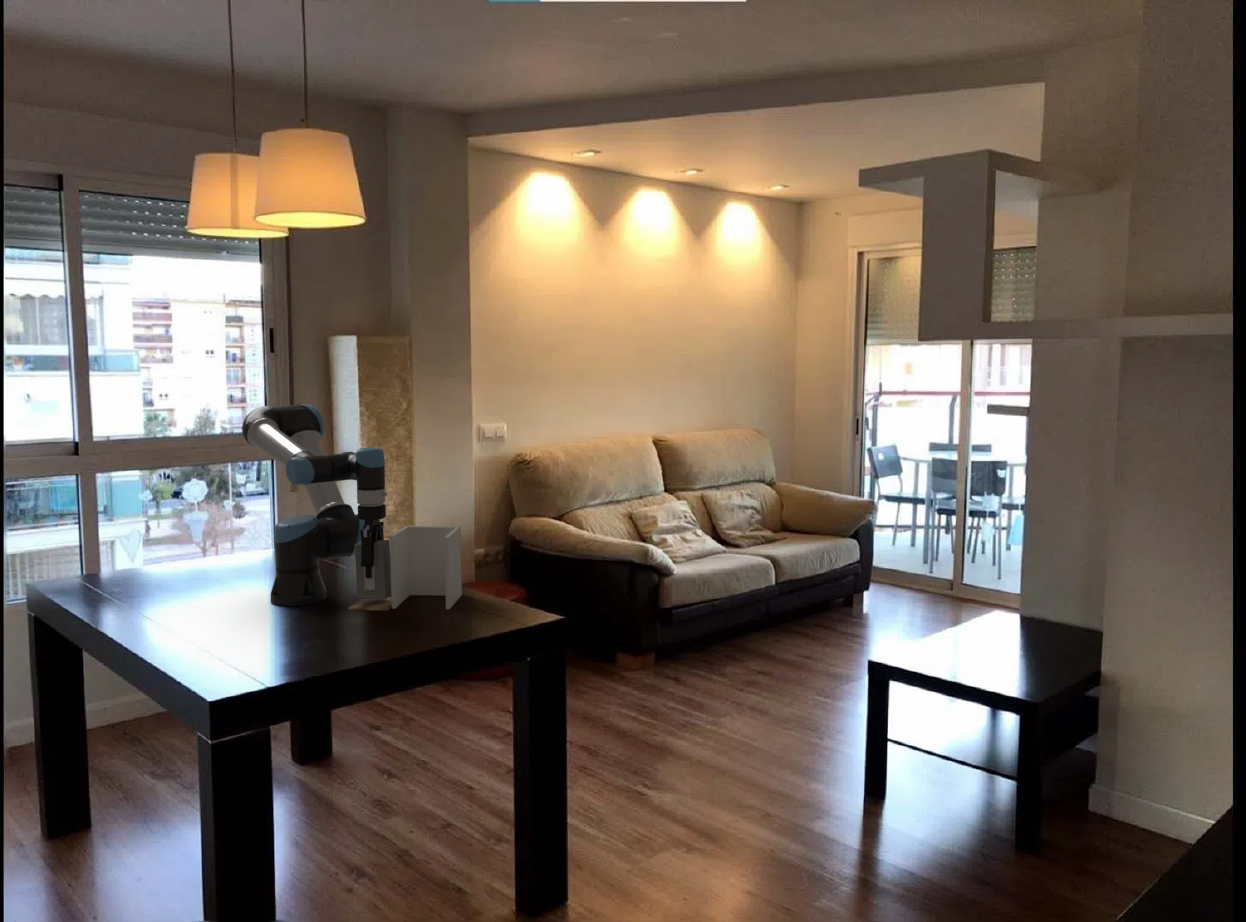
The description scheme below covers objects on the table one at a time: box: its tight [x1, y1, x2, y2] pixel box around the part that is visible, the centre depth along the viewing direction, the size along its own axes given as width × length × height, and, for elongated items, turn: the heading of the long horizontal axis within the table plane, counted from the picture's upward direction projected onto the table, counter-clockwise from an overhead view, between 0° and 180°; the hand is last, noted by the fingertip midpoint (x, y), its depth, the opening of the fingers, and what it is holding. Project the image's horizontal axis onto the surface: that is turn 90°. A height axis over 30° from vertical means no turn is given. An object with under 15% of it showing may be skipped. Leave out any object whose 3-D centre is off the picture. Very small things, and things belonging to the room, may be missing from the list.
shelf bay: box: [389, 525, 463, 610], centre depth 282 cm, size 16×16×20 cm
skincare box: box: [354, 539, 392, 600], centre depth 279 cm, size 8×7×16 cm
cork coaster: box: [347, 596, 392, 611], centre depth 280 cm, size 11×12×1 cm
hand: (374, 585), depth 280 cm, fingers closed on skincare box, 7 cm apart
